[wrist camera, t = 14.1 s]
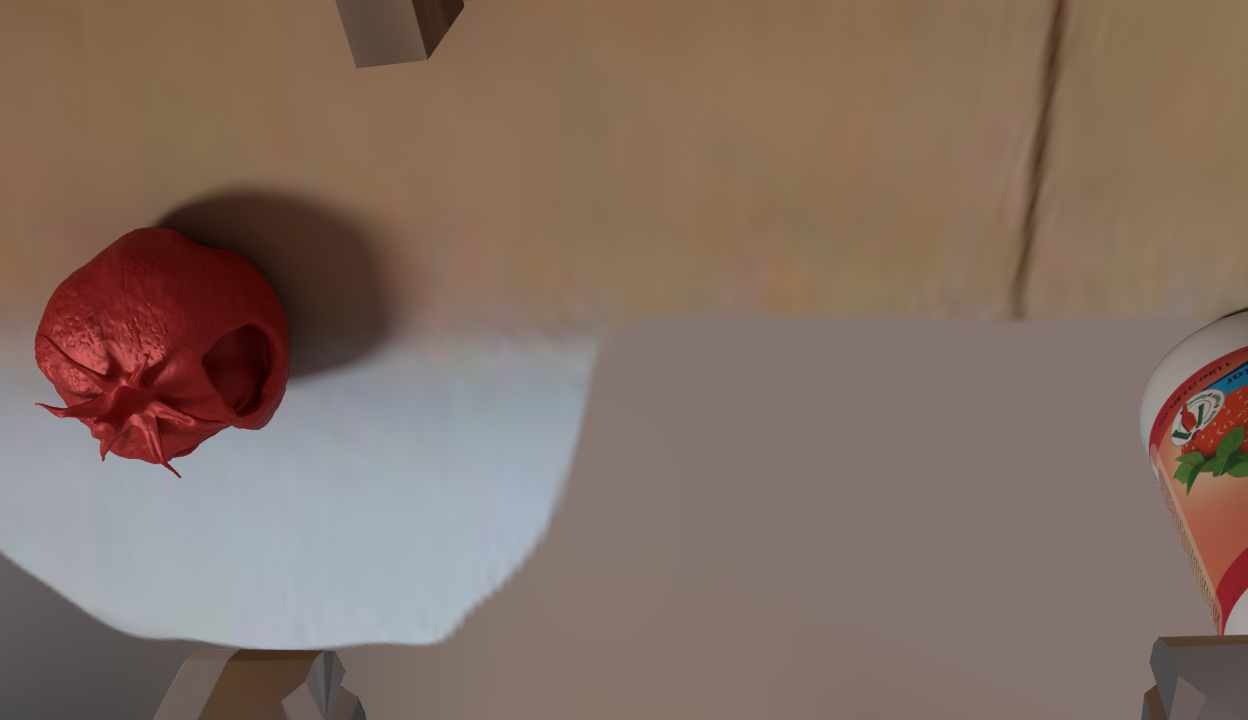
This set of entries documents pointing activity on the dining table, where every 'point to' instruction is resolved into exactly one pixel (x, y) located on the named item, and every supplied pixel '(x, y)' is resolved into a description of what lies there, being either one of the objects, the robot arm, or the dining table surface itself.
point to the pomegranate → (164, 345)
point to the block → (396, 28)
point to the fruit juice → (1206, 459)
